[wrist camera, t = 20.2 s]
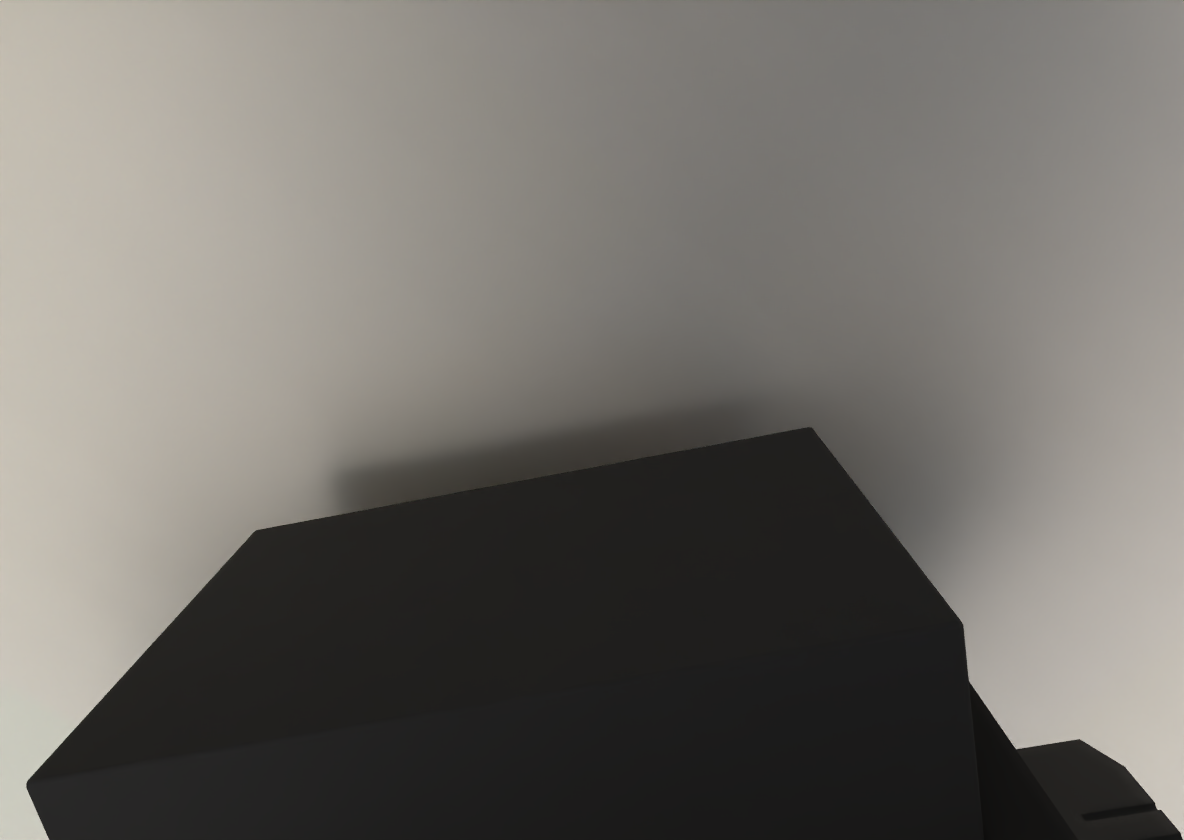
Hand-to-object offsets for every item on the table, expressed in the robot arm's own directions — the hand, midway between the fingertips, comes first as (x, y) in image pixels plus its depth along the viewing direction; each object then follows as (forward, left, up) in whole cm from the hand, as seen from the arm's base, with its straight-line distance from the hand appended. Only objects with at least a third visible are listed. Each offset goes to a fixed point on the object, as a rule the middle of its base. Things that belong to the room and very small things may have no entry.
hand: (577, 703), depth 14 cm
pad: (0, +2, 0) cm, 2 cm away
